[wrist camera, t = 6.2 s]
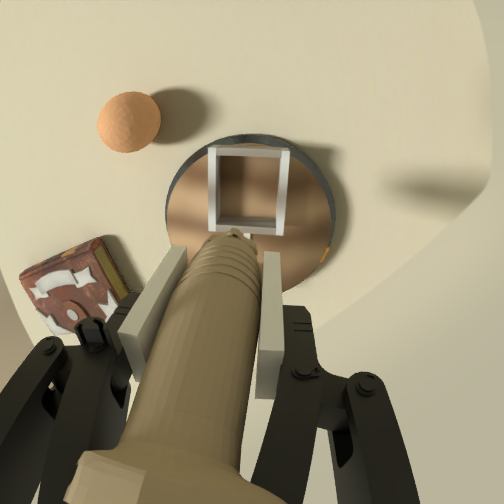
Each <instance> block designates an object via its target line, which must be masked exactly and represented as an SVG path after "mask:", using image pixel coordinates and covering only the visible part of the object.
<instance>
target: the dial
mask: <svg viewBox="0 0 504 504" xmlns="http://www.w3.org/2000/svg"><path fill="white" fill-rule="evenodd" d="M231 228H236V229H239V230H240V232H241V234H242V235H243V236H244V237H246V238H248V239H250V240H254V242H255V243H256V246H257V249H258V255H257V256H256V257H257V260H258V263H259V267H260V273H261V285H262V278H263V264H264V251H268V252H280V265H281V283H282V292H284V291H287V290H289V289H291V288H293V287H294V286H296V285H297V284H299V283H300V282H302V281H303V280H304V279H305V278H307V277H308V276H309V275H310V274H311V273H312V272H313V271H314V269H315V268H316V267H317V265H318V264H319V263H320V261H321V259H322V257H323V256H324V254H325V251H326V249H327V246H328V243H329V238H330V233H331V214H330V209H329V204H328V201H327V198H326V195H325V193H324V191H323V189H322V187H321V185H320V184H319V182H318V181H317V179H316V178H315V177H314V175H313V174H312V173H311V171H310V170H309V169H308V168H307V167H306V166H305V165H304V164H303V163H302V162H300V161H299V160H298V159H296V158H295V157H294V156H292V155H290V150H289V149H288V148H280V147H272V146H268V145H264V144H257V143H239V144H232V145H212V146H210V147H208V154H206V155H205V156H203V157H202V158H200V159H199V160H197V161H196V162H194V163H193V164H192V165H191V166H190V167H189V168H188V169H187V170H186V171H185V172H184V173H183V175H182V176H181V177H180V179H179V180H178V182H177V183H176V185H175V187H174V189H173V191H172V194H171V196H170V200H169V203H168V209H167V230H168V236H169V239H170V243H171V246H187V258H188V265H189V263H190V262H191V260H192V259H193V257H194V256H195V255H196V253H197V252H198V251H199V250H200V249H201V246H202V244H203V243H204V241H205V240H206V239H207V238H208V237H209V236H210V235H212V234H222V233H225V232H227V231H228V230H230V229H231Z"/></svg>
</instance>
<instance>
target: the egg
mask: <svg viewBox="0 0 504 504" xmlns="http://www.w3.org/2000/svg"><path fill="white" fill-rule="evenodd" d="M160 124H161V114H160V111H159V108H158V106H157V104H156V103H155V102H154V100H153V99H152V98H151V97H149V96H148V95H146V94H143V93H141V92H125V93H122V94H119V95H117V96H115V97H113V98H112V99H111V100H109V101H108V102H107V103H106V105H105V106H104V107H103V109H102V110H101V112H100V114H99V117H98V123H97V128H98V134H99V136H100V138H101V140H102V141H103V142H104V143H105V145H106V146H108V147H109V148H110V149H112V150H114V151H117V152H122V153H129V152H134V151H138V150H140V149H142V148H144V147H146V146H147V145H148V144H149V143H151V142H152V141H153V139H154V138H155V136H156V135H157V133H158V131H159V128H160Z"/></svg>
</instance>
